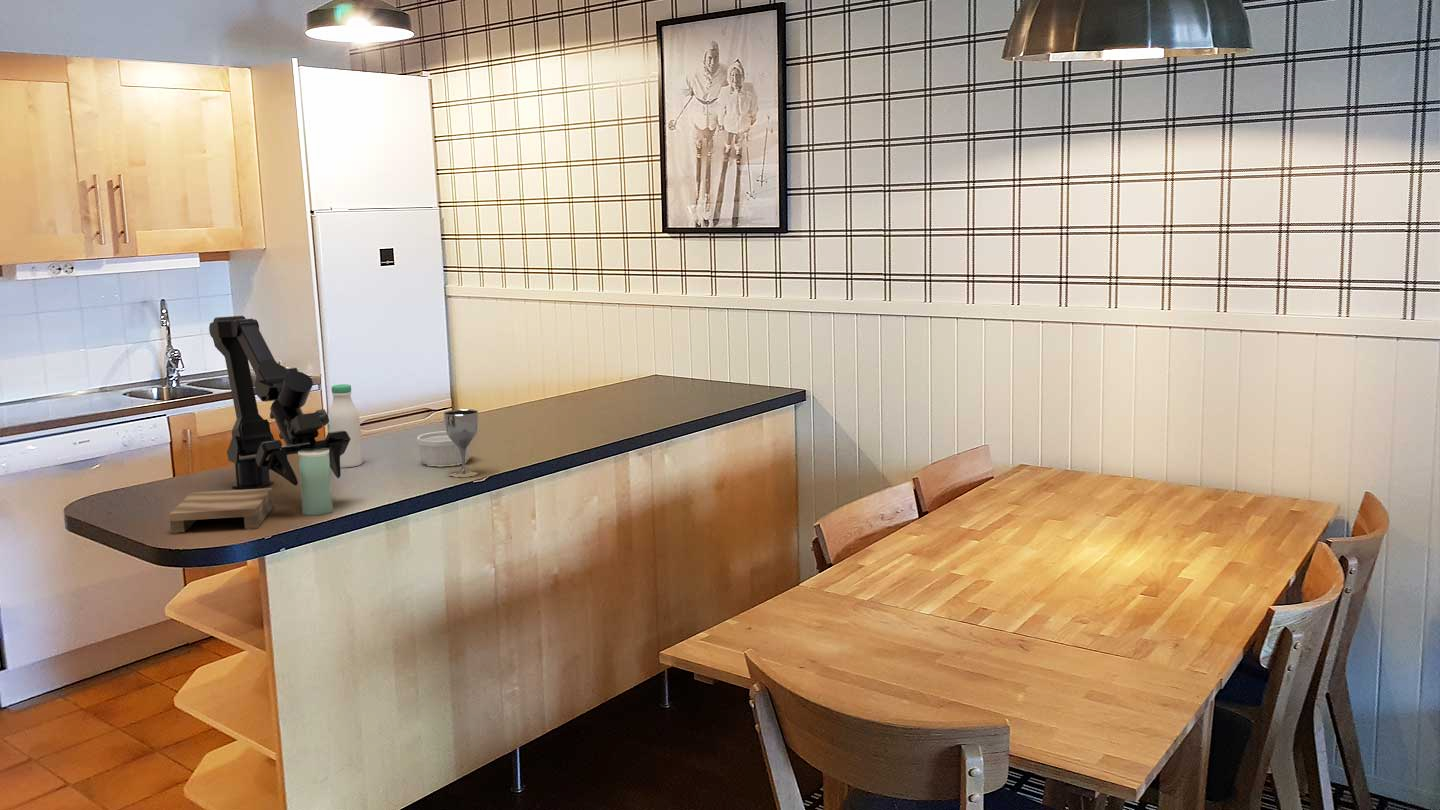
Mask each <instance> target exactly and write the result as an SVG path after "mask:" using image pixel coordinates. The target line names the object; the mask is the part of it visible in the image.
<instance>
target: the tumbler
mask: <svg viewBox="0 0 1440 810" xmlns="http://www.w3.org/2000/svg"><path fill="white" fill-rule="evenodd" d="M297 456H298V467H299V468H298V469H299V479H300V480H299V482H300V495H301V497H300V499H301V508H302V510H301V511H302V515H305V516H321V515H322V516H323V515H326V514H329V513H332V512H333V511H334V507H333V494H332V493H333V492H332V478H331V476H332V475H331V467H330V459H329V449H328V448H308V449H302V450H299V451H298V454H297Z"/></svg>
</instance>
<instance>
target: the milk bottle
mask: <svg viewBox="0 0 1440 810" xmlns="http://www.w3.org/2000/svg"><path fill="white" fill-rule="evenodd" d="M351 394H352V385H351V384H335V385H332V386H331V395H332V402H331V406H330V408H329V411H328V413H327V414H328V418H329V423H328V424H327V434H328V433H329V432H336V431H346V432H347V433H348V435H349V437H350V442H349V444H348V446H347V448H346V450H345V452H344V454H342V455H341V456H340V469H342V468H344V469H345V468H353V467H358V466H361V465H362V463H363V447H362V432H361V431H362V430H361V421H360V415H359V413H358V410H357V408H356V406H355V404H354V401H353V400H352V397H351V396H352V395H351Z"/></svg>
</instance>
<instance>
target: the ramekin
mask: <svg viewBox="0 0 1440 810" xmlns="http://www.w3.org/2000/svg"><path fill="white" fill-rule="evenodd" d="M416 441H417V444H418V450H419V456H420V460H421V463H423V465H425V464H427V465H451V464H457V463H462V459H461V453H460V450H459V448H458V447H457V446H456V444H455V443H454V442H453V441H452V440H451V439H450V438H449V437H448V435H447V432H446V430H442V431H441V430H440V431H432V432H427V433H422V434H420V435H417V438H416ZM471 443H472V442H471ZM471 443H470V444H469V445H468V447H467V449H466V455H465V461H467V460H468V459H470V456H471ZM468 461H469V460H468ZM468 461H467V462H468Z"/></svg>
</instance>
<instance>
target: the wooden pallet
mask: <svg viewBox="0 0 1440 810" xmlns="http://www.w3.org/2000/svg"><path fill="white" fill-rule="evenodd" d="M273 496H274V495H273V488H272V487H268V488H266V487H264V488H258V489H231V490H213V491H198V492H197V491H196V492H195V491H193V492H191V493H190V494H188V495H187V496H186V497H185V498H184V499H183V500H182V501H181V502H180V503H179V504H178V505H176V507H174V508H173V509H172V510H171V512H169V524H170V534H171V533H173V534H179V533H178V532H185V531H186V530H187V531H188V529H190V528H191V526H192V525H193V524H194V523H195V522H196V521H197V520H210V519H211V520H212V519H230V518H243V522H244V523H243V524H244V530H250V529H251V530H252V529H259V528H260V526H261V524H262V523H263V522H264V520H265V519H266V518H267V516H268V514H269V513H270V512H271V511H272V509H273V508H274V497H273ZM195 520H196V521H195ZM194 521H195V522H194ZM193 522H194V523H193ZM190 525H191V526H190ZM187 531H186V532H187ZM186 532H185V533H186Z"/></svg>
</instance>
